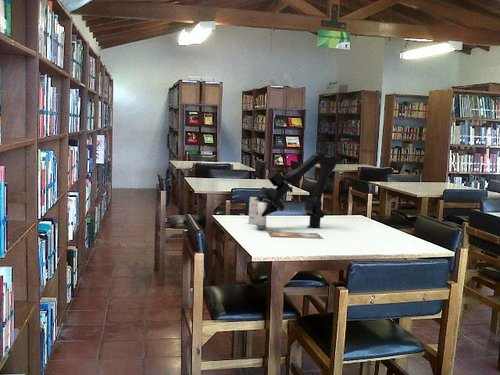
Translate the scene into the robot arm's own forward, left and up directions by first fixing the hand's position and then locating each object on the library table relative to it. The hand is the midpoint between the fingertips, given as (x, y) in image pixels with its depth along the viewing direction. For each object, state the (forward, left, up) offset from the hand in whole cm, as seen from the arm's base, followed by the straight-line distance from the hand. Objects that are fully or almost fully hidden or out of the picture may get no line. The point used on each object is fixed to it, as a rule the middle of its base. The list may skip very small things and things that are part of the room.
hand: (259, 215), depth 253 cm
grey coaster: (+10, +23, -7) cm, 26 cm away
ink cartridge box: (-21, +1, -8) cm, 22 cm away
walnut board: (+10, +16, -8) cm, 21 cm away
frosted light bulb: (-1, +1, -7) cm, 7 cm away
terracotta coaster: (+10, +10, -7) cm, 16 cm away
